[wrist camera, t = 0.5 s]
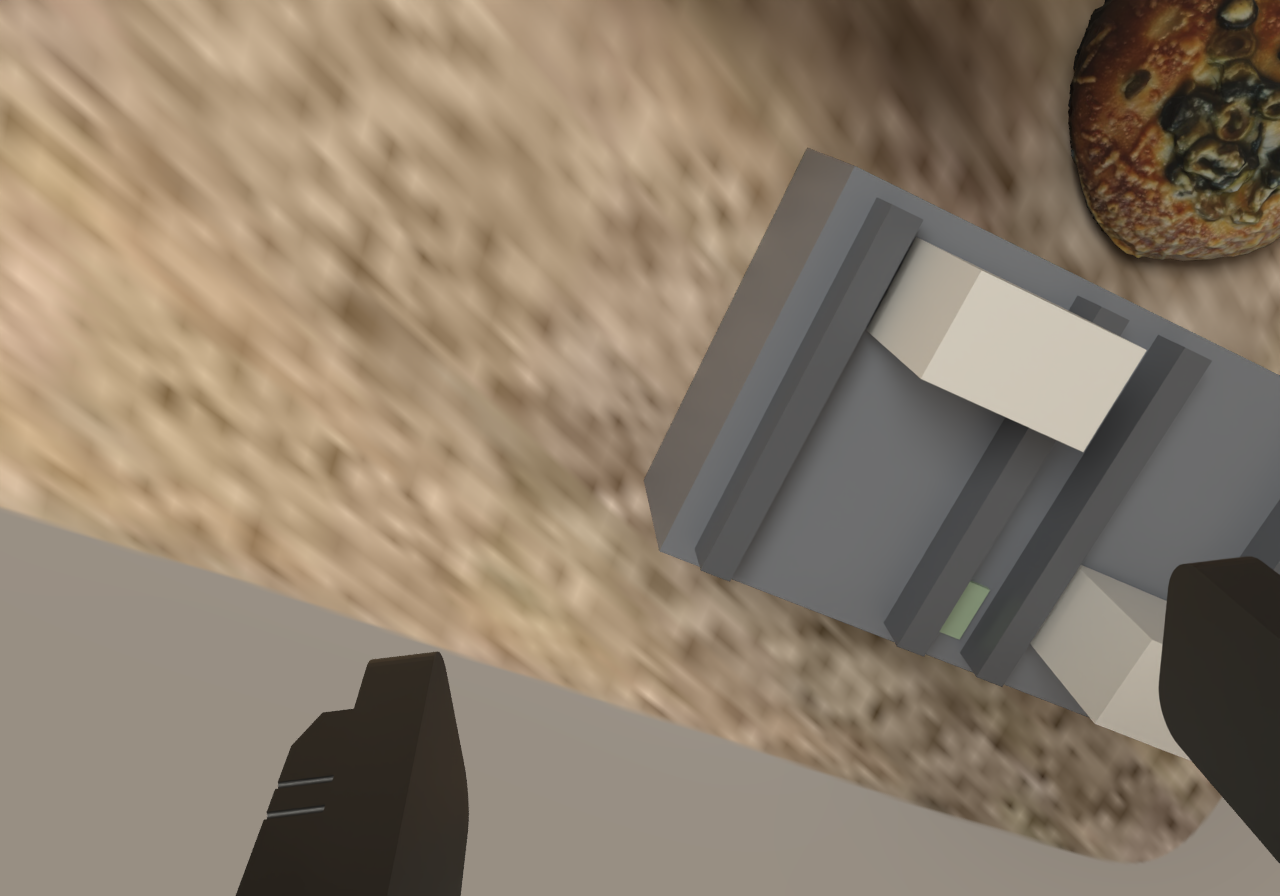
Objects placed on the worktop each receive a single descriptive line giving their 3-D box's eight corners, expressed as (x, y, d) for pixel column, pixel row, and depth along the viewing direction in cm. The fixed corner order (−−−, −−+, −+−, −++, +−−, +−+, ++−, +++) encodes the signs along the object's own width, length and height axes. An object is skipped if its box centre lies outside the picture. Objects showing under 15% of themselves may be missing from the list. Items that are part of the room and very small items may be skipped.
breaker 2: (1071, 560, 35) (1152, 639, 30) (1193, 612, 36) (1289, 696, 31) (1023, 635, 36) (1094, 723, 31) (1144, 684, 37) (1230, 776, 32)
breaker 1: (916, 236, 31) (981, 270, 26) (1059, 306, 32) (1146, 350, 27) (866, 329, 32) (920, 378, 27) (1007, 394, 33) (1083, 452, 28)
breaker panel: (807, 147, 36) (869, 171, 29) (1273, 377, 40) (1426, 446, 33) (643, 480, 40) (664, 572, 33) (1086, 657, 44) (1188, 773, 37)
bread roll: (1130, -128, 34) (1242, -141, 29) (1393, -29, 37) (1531, -27, 32) (998, 217, 38) (1079, 252, 33) (1247, 279, 41) (1351, 319, 36)
